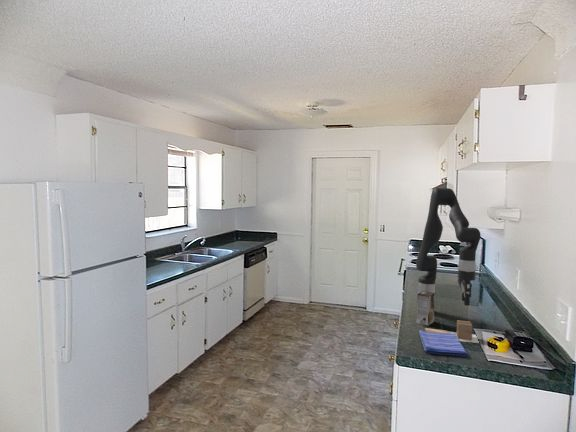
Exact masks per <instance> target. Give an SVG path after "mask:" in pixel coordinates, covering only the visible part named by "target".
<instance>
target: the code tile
mask: <svg viewBox="0 0 576 432" xmlns="http://www.w3.org/2000/svg"><path fill="white" fill-rule="evenodd" d="M449 334H456V336H457V331H456V332H455V331H449ZM457 338H458V337H457ZM458 340H459V341H460V342H466V343H473V344H474V343H475V344H480V343H479V342H480V341H478V340H479V338H478V336H477V335H476V334H473V333H472V340H467V339H458Z"/></svg>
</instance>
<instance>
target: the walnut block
mask: <svg viewBox="0 0 576 432" xmlns="http://www.w3.org/2000/svg"><path fill="white" fill-rule="evenodd" d="M456 332H457V337H458V339H467V340H472V334H473V324H472V322H471V321H467V320H458V319H457V320H456Z"/></svg>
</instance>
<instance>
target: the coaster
mask: <svg viewBox="0 0 576 432" xmlns="http://www.w3.org/2000/svg"><path fill="white" fill-rule="evenodd" d="M424 331H427V332H432V333H449V334H450V331H449V330H447V329H446V330H444V329H439V328H438V329H437V328H429V327H428V328H427V327H424Z"/></svg>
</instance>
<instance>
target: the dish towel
mask: <svg viewBox="0 0 576 432" xmlns="http://www.w3.org/2000/svg"><path fill="white" fill-rule="evenodd" d="M418 333H419V337H420V339H421V343H422V346H423V349H424V351H425V352H426V354H428V355H429V354H430V355H431V354H432V355H441V356H442V355H443V356H454V357H467V356H468V352H467V351H466V349H465V347H464V346H463V344H462V342H461V341H459V340H458V338H457V336H456V334H450V332H449V333H432V332H427V331H425V330H421V329H419V331H418Z"/></svg>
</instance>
